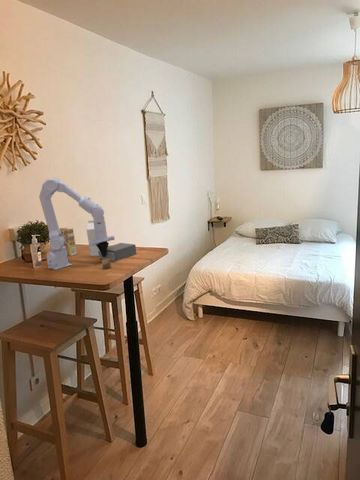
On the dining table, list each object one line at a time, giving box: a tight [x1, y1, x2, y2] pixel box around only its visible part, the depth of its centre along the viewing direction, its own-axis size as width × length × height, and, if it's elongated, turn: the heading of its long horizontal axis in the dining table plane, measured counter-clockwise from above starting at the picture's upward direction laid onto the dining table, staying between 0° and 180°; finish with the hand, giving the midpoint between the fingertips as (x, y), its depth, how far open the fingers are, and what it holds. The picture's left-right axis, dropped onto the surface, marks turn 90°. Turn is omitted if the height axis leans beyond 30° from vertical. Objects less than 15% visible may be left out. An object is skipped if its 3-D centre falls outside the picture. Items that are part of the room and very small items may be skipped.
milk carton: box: [86, 220, 100, 257], centre depth 210 cm, size 7×7×19 cm
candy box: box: [59, 226, 78, 256], centre depth 217 cm, size 9×4×15 cm, turn 44°
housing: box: [107, 242, 137, 262], centre depth 202 cm, size 14×12×6 cm
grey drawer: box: [98, 251, 116, 262], centre depth 201 cm, size 14×12×4 cm
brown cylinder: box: [101, 258, 112, 270], centre depth 182 cm, size 4×4×4 cm
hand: (104, 256), depth 196 cm, fingers closed
